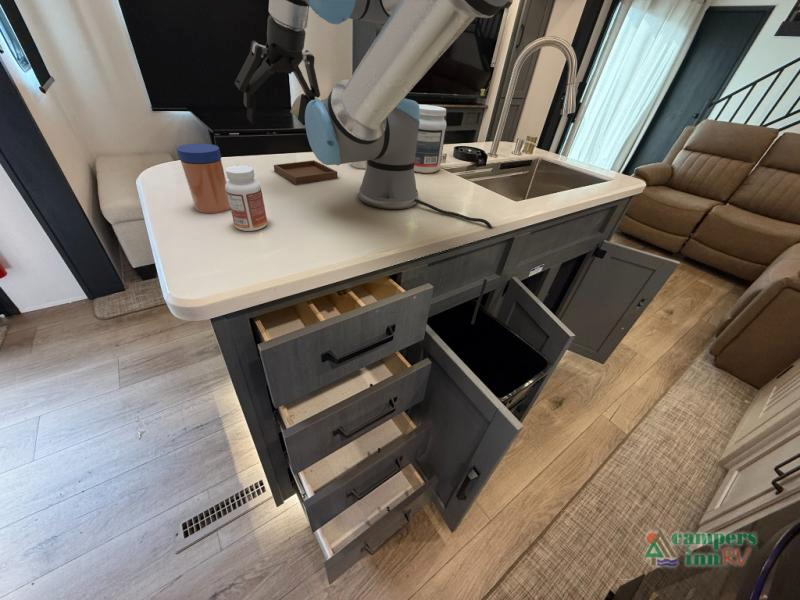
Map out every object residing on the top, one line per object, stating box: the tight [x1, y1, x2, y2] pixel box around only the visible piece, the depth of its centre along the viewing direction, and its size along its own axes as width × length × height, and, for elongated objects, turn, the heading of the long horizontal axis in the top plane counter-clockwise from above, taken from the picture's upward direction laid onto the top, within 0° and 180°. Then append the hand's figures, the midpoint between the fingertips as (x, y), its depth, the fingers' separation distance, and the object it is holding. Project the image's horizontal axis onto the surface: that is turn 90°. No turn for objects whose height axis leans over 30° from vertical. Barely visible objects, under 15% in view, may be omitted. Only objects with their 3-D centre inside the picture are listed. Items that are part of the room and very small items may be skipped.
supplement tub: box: [414, 103, 447, 174], centre depth 105 cm, size 13×13×18 cm
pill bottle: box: [225, 165, 268, 232], centre depth 62 cm, size 6×6×11 cm
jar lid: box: [175, 143, 222, 163], centre depth 64 cm, size 8×8×2 cm
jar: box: [180, 158, 231, 214], centre depth 68 cm, size 7×7×12 cm
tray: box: [273, 159, 339, 186], centre depth 94 cm, size 13×13×2 cm
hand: (277, 121), depth 82 cm, fingers open, 13 cm apart
